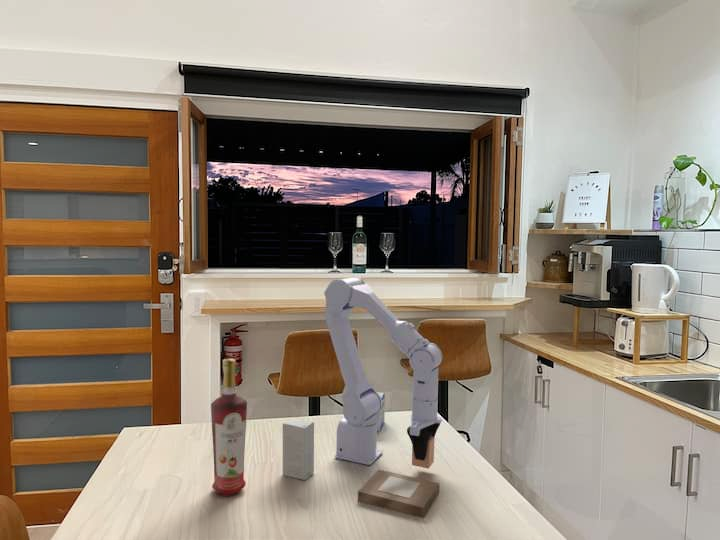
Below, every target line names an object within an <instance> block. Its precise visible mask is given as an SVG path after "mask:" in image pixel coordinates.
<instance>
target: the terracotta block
mask: <svg viewBox="0 0 720 540" xmlns="http://www.w3.org/2000/svg"><path fill="white" fill-rule="evenodd" d="M411 445H412V444H411ZM411 451H412V452H411V466H414V467H420V468H422V469H424V468H425V469H430V468H431V466H432V465H433V464H434V462H435V437H433V436H431V437H430V440H429V443H428V447H427V453H426V457H425V460H424V461H423V460H418V459H415V455H414V450H413V445H412V449H411Z"/></svg>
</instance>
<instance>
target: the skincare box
mask: <svg viewBox="0 0 720 540" xmlns="http://www.w3.org/2000/svg"><path fill="white" fill-rule="evenodd" d="M314 466H315V422H314V421H309V420H305V419H299V418H293V417H292V418H290V419H288V420H287V421H285V422H283V423H282V476H286V477H290V478H294V479H298V480H302V481H306V480H308V478H310V476H312V475H313V474H314V472H315V467H314Z"/></svg>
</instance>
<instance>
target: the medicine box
mask: <svg viewBox="0 0 720 540" xmlns="http://www.w3.org/2000/svg"><path fill="white" fill-rule="evenodd" d="M376 392H377V391H376ZM377 393H378V394H379V395H380V397H381V400H382V407H381V409H380V411H379V412H378V413H377V432H380V431H381V430H382V427H383V426H384V423H385V414H386V413H385V408H386V407H385V403H386V399H385V398H386V396H385V395H386V394H385V392H377Z"/></svg>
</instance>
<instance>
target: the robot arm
mask: <svg viewBox="0 0 720 540" xmlns="http://www.w3.org/2000/svg"><path fill="white" fill-rule="evenodd" d="M324 296H325V310H324V318H325V322H326V325H327V327H328V328H327V329H328V332H329V336H330V339H331V343H332V345H333V349H334V353H335V355H336V359H337V362H338V365H339V366H338V367H339V369H340V373H341V376H342V379H343V383H344V388H343V390H342V394H341V399H342V414H343V417H342V418H341V419H340V420H339V421H338V424H337V428H336V449H335V450H336V452H335V453H336V454H335V455H334V457H335V458H336V459H341V460H344V461H348V462H349V461H350V462H354V463H359V464H362V465H365V466H366V465H367V466H370V465H372V464H373V463H375V461H376V460H377V459H378V458H379V457H380V456H381V455H382V454H383V451H382V450H379V449H377V441H378V440H377V437H378V436H377V435H378V431H377V413H378V412H379V411H380V409H381V407H382V400H381V397H380V395H379V394H378V393H377V390H376V388H375V385H374V383H373V382H371V381H370V380H369V379H368V378H367V376H366V373H365V370H364V366H363V363H362V360H361V356H360V353H359V349H358V346H357V343H356V339H355V336H354V333H353V329H352V326H351V323H350V320H349V317H350V315H351V313H352V312H353V310H354V308H359V309H363V310H366V312H367V313H368V314H370V316H371V317H373V318H374V319H375V320H376V321H377V322H378V323H380V324H381V325H382V326H383V327H384V328H385V329H386V330H387V331H388V339H389V340H390V341H391V342H392V343H393V344H394V345H395V346H396V347H397V348H398V349H399V350H400V351H401V352H402V353H403V354H404V355H405V356H406V357H407V358H408V362H409V365H410V368H411V369H412V371H413V374H412V375H413V377H412V398H411V399H412V401H411V403H412V404H411V405H412V407H411V408H412V409H411V415H410V426H408V427H407V429H406V434H407V435H408V437H409V439H410V442H411V445H413V450H414V455H415V459H418V460H423V461H424V460H425V457H426V453H427V447H428V443H429V440H430V437H431V436H433V437H435V436H436V435H437V434H436V433H437V431H438V429H439V427H440V426H441V423H442V421H443V417H439V416H438V402H439V399H438V398H439V397H438V396H439V365H441V363H442V361H443V354H442V350H441V349H440V347H439V346H438V345H437V344H436V343H433V342H430V341H429V340H428V339H427V338H424V337H423V336H422V335H421V334H420V333H419V332H418V331H417V330H416V329H415V327H416V326H415V325H414V324H413V322H408V321H407V320H399V319H398V318H397V317H396V315H395V314H393V312H392V311H391V310H390V309H389V308H388V307H387V305H385V303H383V302H382V300H381V299H380V298H379V296H377V295H376V293H375V292H374V291H373V289H372V287H371V286H370V284H368V283H366V282H365V280H364V279H363V278H361V277H359V276H351V277H346V278H337V279H332V280H331V281H330V282H329V284H328V285H327V288H326V289H325V291H324Z"/></svg>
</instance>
